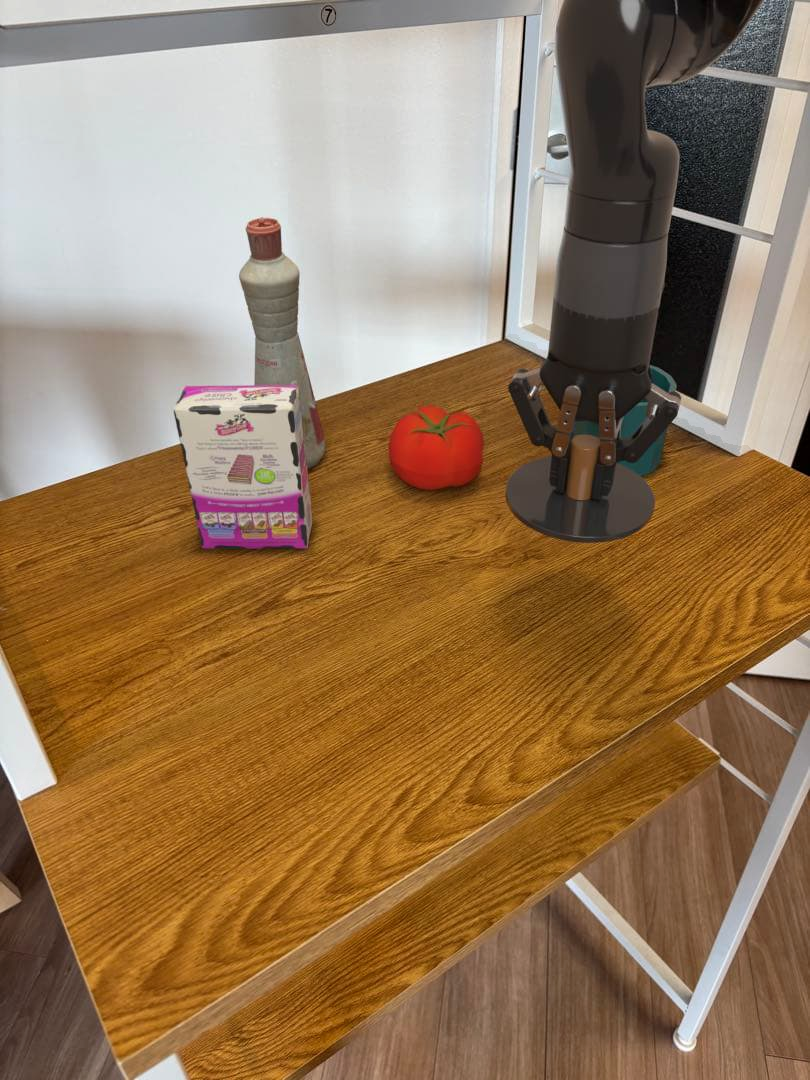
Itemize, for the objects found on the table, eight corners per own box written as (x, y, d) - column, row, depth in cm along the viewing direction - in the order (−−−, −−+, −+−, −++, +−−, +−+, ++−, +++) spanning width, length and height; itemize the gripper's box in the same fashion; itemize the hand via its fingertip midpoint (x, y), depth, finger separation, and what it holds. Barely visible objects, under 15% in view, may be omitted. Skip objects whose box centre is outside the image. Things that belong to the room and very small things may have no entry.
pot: (668, 428, 104) (683, 357, 98) (650, 500, 91) (666, 424, 86) (577, 412, 107) (587, 344, 101) (549, 480, 95) (557, 406, 89)
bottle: (235, 460, 98) (198, 218, 81) (290, 430, 104) (266, 197, 87) (286, 486, 94) (258, 236, 77) (341, 453, 100) (326, 213, 82)
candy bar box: (313, 521, 89) (301, 382, 79) (308, 550, 85) (294, 408, 75) (209, 521, 89) (183, 382, 79) (199, 550, 85) (171, 408, 75)
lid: (661, 479, 73) (674, 418, 70) (641, 563, 64) (654, 497, 61) (525, 455, 77) (530, 395, 73) (487, 530, 68) (490, 466, 64)
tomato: (370, 478, 95) (368, 421, 91) (433, 442, 101) (434, 387, 97) (440, 515, 89) (442, 456, 85) (502, 474, 96) (507, 417, 91)
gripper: (498, 299, 59) (487, 500, 69) (702, 325, 55) (658, 534, 65) (525, 265, 64) (511, 455, 75) (712, 285, 60) (669, 484, 71)
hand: (580, 491), depth 70 cm, fingers closed on lid, 2 cm apart
